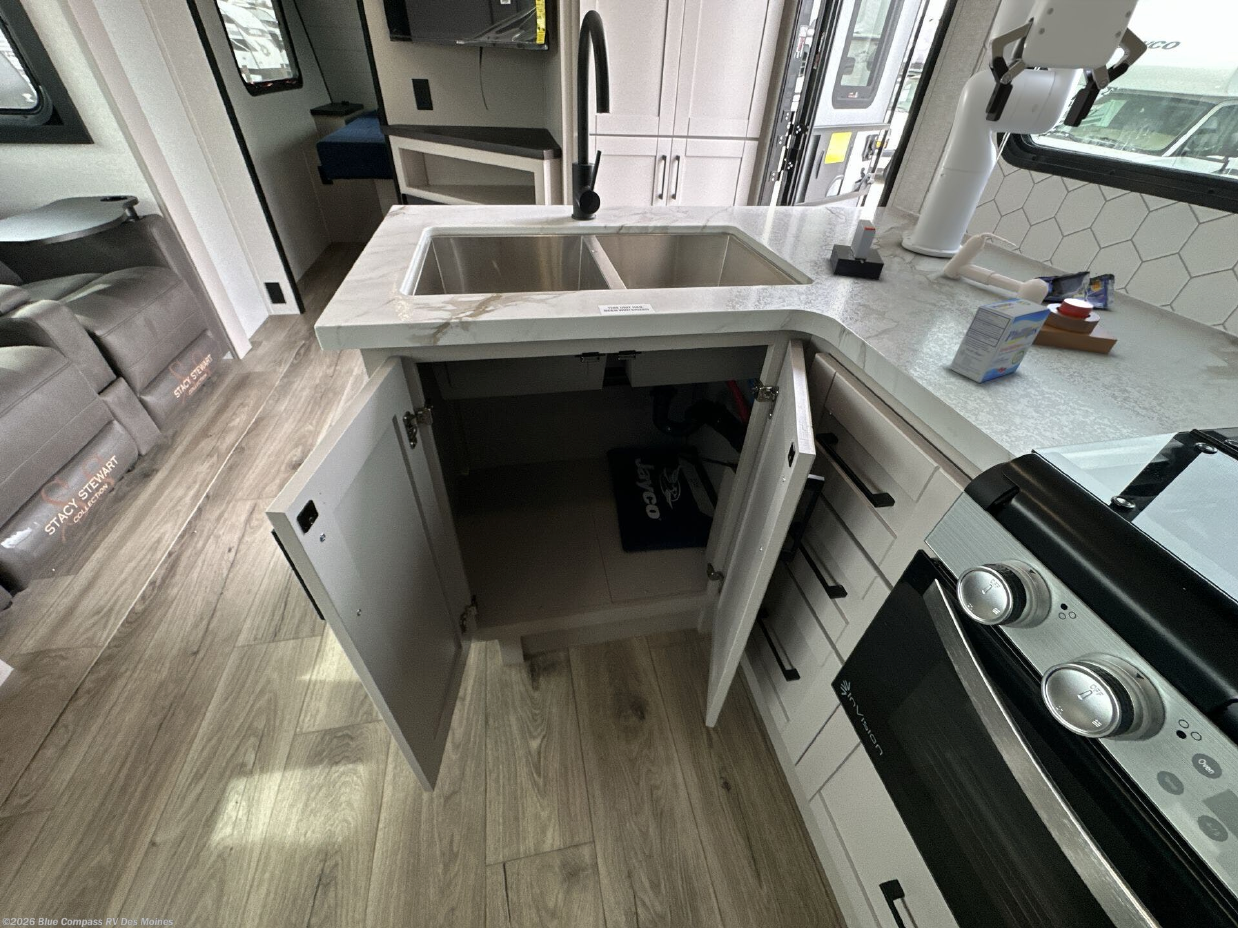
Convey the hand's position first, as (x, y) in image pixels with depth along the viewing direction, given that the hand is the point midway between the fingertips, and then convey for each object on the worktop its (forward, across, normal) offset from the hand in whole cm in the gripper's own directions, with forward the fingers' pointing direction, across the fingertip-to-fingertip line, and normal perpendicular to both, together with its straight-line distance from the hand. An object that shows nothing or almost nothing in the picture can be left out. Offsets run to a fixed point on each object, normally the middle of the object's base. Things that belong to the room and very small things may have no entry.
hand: (1030, 123), depth 69 cm
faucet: (+26, -10, -13) cm, 31 cm away
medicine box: (+26, +2, +23) cm, 35 cm away
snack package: (+26, -22, -12) cm, 36 cm away
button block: (+26, -14, +7) cm, 30 cm away
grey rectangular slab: (+23, +13, -16) cm, 31 cm away
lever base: (+26, +13, -16) cm, 33 cm away
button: (+22, -14, +7) cm, 27 cm away
